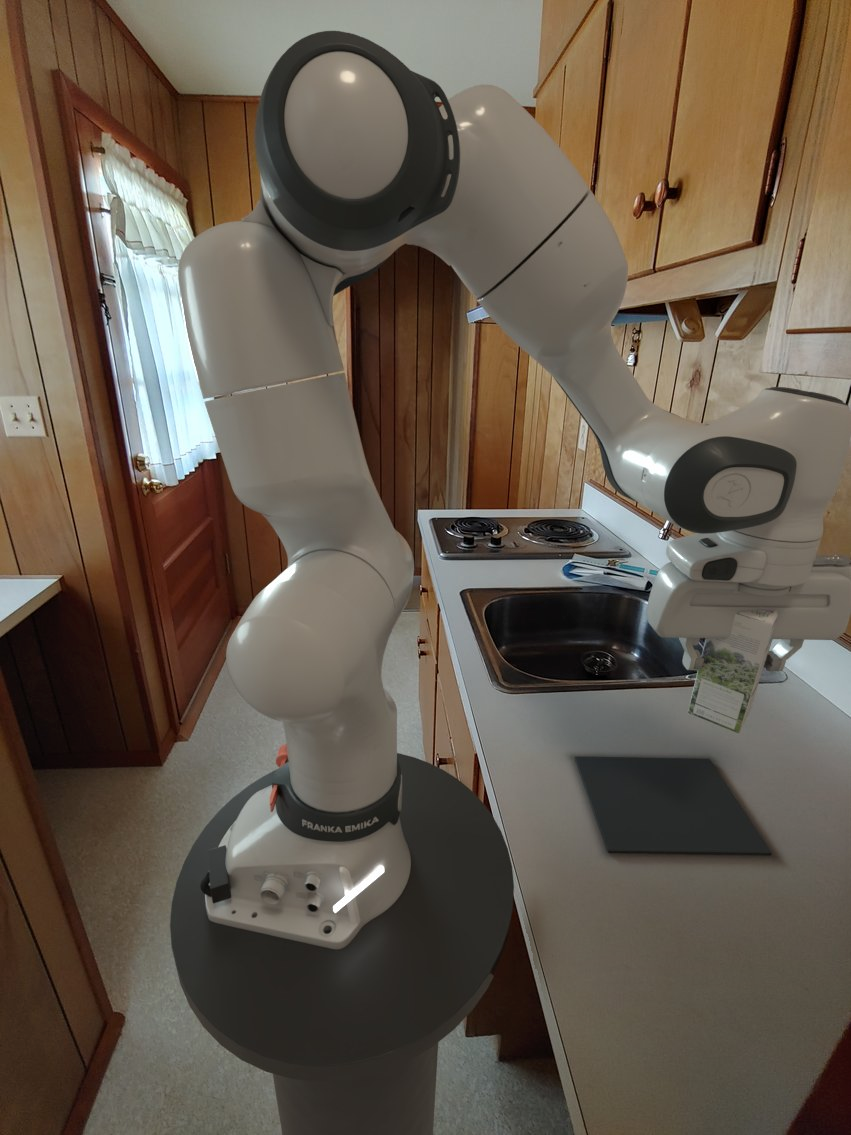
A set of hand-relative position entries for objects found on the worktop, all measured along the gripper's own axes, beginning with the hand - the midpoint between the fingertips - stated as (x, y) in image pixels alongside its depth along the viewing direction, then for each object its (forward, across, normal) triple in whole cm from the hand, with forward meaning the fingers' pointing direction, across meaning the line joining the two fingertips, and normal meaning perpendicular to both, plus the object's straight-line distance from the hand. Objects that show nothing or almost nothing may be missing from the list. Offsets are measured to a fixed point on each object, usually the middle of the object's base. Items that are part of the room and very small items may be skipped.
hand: (730, 668), depth 62 cm
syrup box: (+6, 0, 0) cm, 6 cm away
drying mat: (+24, +2, -3) cm, 24 cm away
